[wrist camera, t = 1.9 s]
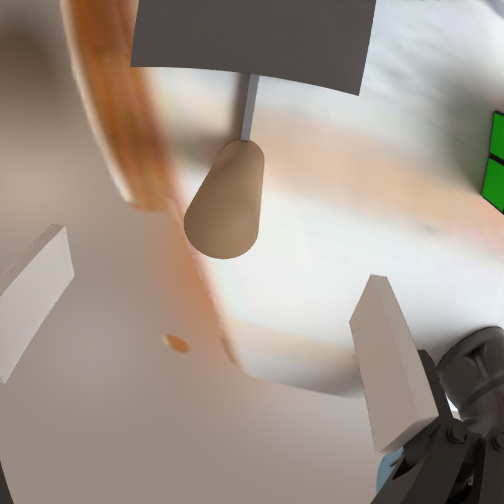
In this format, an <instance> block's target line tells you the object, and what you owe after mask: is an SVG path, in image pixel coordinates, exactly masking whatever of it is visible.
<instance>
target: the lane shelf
mask: <svg viewBox="0 0 504 504" xmlns="http://www.w3.org/2000/svg"><path fill="white" fill-rule="evenodd" d="M375 4H376V0H139V6H138V12H137V18H136V24H135V31H134V39H133V47H132V55H131V65H130V67H178V68H197V69H210V70H222V71H231V72H240V73H248V74H255V75H262V76H269V77H275V78H281V79H286V80H292V81H297V82H302V83H307V84H312V85H316V86H321V87H325V88H330V89H334V90H338V91H342V92H346V93H349V94H353V95H357V96H359V91H360V87H361V82H362V77H363V72H364V67H365V62H366V57H367V51H368V46H369V40H370V35H371V29H372V23H373V17H374V10H375Z"/></svg>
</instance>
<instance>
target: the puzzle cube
mask: <svg viewBox="0 0 504 504" xmlns="http://www.w3.org/2000/svg"><path fill="white" fill-rule="evenodd" d="M489 152H490V154H491V156H489V158H488V164H487V170H486V175H485V180H484V185H483V190H482V197H483V198H484V199H485V200H487V201H488V202H489V203H490V204H491V205H493V206H494V207H495V208H496V209H497V210H499V211H500V212H501V213H502V214H503V215H504V113H503V112H499V111H495V112H494V119H493V128H492V137H491V144H490V151H489Z"/></svg>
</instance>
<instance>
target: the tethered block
mask: <svg viewBox="0 0 504 504" xmlns="http://www.w3.org/2000/svg"><path fill="white" fill-rule="evenodd" d="M258 80H259V75H255V74H250V80H249V87H248V93H247V99H246V106H245V113H244V119H243V126H242V133H241V139H238V140H234V141H232V142H230V143H228V144H227V145H226V146H225V147H224V149H223V150H222V152H221V153H220V155H219V157H218V158H217V160H216V161H215V163H214V165H213V166H212V168H211V170H210V171H209V173H208V175H207V176H206V178H205V180H204V181H203V183H202V185H201V186H200V188H199V190H198V192H197V193H196V195H195V197H194V198H193V200H192V202H191V204H190V205H189V207H188V209H187V211H186V213H185V217H184V229H185V233H186V236H187V238H188V240H189V241H190V243H191V244H192V245H193V246H194V247H195V248H196V249H197V250H198V251H200V252H201V253H203V254H205V255H207V256H209V257H213V258H217V259H230V258H235V257H238V256H240V255H242V254H244V253H245V252H247V251H248V250H249V249H250V248H251V247H252V246H253V244H254V243H255V241H256V239H257V235H258V229H259V218H260V206H261V195H262V183H263V171H264V155H263V152H262V150H261V149H260V147H259V146H258V145H257V144H255V143H254V142H252V141H250V140H249V137H250V131H251V124H252V118H253V111H254V105H255V99H256V93H257V86H258Z"/></svg>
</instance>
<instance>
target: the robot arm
mask: <svg viewBox="0 0 504 504" xmlns="http://www.w3.org/2000/svg"><path fill="white" fill-rule="evenodd" d="M73 278H74V271H73V266H72V261H71V256H70V251H69V246H68V240H67V234H66V228H65V226H61V225H55V224H52V225H51V226H49V227H48V228H47V229H46V230H45V231H44V232H43V233H42V234H41V235H40V236H39V237H38V238H37V239H36V240H35V241H34V242H33V243H32V244H31V245H30V246H29V247H28V248H27V249H26V250H25V251H24V252H23V253H22V254H21V255H20V256H19V257H18V258H17V259H16V260H15V261H14V262H13V263H12V264H11V266H10V267H9V268H8V269H7V270H6V271H5V272H4V273H3V274H2V275H1V276H0V382H2V383H4V384H5V383H6V381H7V379H8V378H9V376H10V374H11V372H12V371H13V369H14V367H15V366H16V364H17V362H18V360H19V359H20V357H21V355H22V354H23V352H24V350H25V349H26V347H27V345H28V344H29V342H30V341H31V339H32V337H33V336H34V334H35V333H36V331H37V330H38V328H39V326H40V325H41V323H42V322H43V321H44V319H45V318H46V316H47V315H48V313H49V312H50V310H51V309H52V307H53V306H54V304H55V303H56V301H57V300H58V299H59V297H60V296H61V294H62V293H63V292H64V290H65V289H66V287H67V286H68V285H69V283H70V282H71V281H72V279H73ZM349 323H350V328H351V332H352V336H353V341H354V345H355V349H356V354H357V359H358V363H359V368H360V373H361V378H362V383H363V388H364V393H365V398H366V403H367V409H368V414H369V420H370V426H371V432H372V438H373V444H374V451H375V455H383V454H386V455H385V456H384V457H383V459H382V461H381V463H380V465H379V468H378V473H377V482H376V493H377V495H376V497H375V498H374V500H373V501H372V502H371V504H504V330H503V329H502V328H499V327H491V328H486V329H483V330H480V331H478V332H476V333H474V334H472V335H470V336H468V337H467V338H465V339H464V340H462V341H461V342H459V343H458V344H457V345H456V346H454V347H453V348H452V349H451V350H450V351H449V352H448V353H447V354H446V355H445V356H444V358H443V359H442V360H441V362H440V363H439V365H438V367H437V369H436V367H435V364H434V362H433V360H432V359H431V357H430V356H429V355H428V353H427V352H426V351H425V350H417V349H416V346H415V344H414V341H413V338H412V336H411V333H410V331H409V328H408V326H407V323H406V321H405V318H404V316H403V313H402V311H401V309H400V306H399V304H398V302H397V299H396V297H395V295H394V292H393V290H392V288H391V286H390V283H389V281H388V279H387V277H384V276H377V275H370V278H369V280H368V282H367V284H366V287H365V289H364V291H363V293H362V296H361V298H360V300H359V302H358V304H357V306H356V309H355V311H354V313H353V315H352V317H351V319H350V321H349ZM445 394H446V395H445ZM446 396H447V397H448V398H449V400H450V401H451V402H452V403H453V404H454V406H455V407H456V408H457V410H458V412H459V415H460V418H461V421H460V420H458V419H455V418H453V416H452V413H451V410H450V407H449V404H448V401H447V398H446ZM0 504H14V503H13V501H12V498H11V495H10V492H9V489H8V486H7V483H6V480H5V477H4V473H3V470H2V466H1V463H0Z"/></svg>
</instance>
